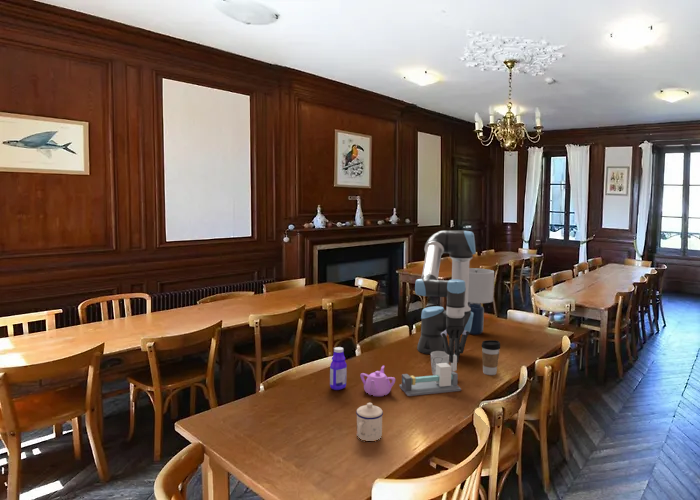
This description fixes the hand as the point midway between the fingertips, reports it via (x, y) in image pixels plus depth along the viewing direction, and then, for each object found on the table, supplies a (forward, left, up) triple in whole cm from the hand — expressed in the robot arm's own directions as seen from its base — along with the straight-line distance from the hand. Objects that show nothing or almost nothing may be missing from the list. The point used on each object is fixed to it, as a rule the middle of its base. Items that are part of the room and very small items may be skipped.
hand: (453, 369), depth 206 cm
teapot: (-2, -34, -8) cm, 35 cm away
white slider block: (0, -5, -6) cm, 8 cm away
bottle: (-10, -49, -8) cm, 50 cm away
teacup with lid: (+34, -49, -8) cm, 60 cm away
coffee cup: (-11, +24, -8) cm, 28 cm away
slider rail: (0, -11, -8) cm, 13 cm away
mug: (-13, +1, -8) cm, 15 cm away
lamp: (-73, +50, -8) cm, 89 cm away
